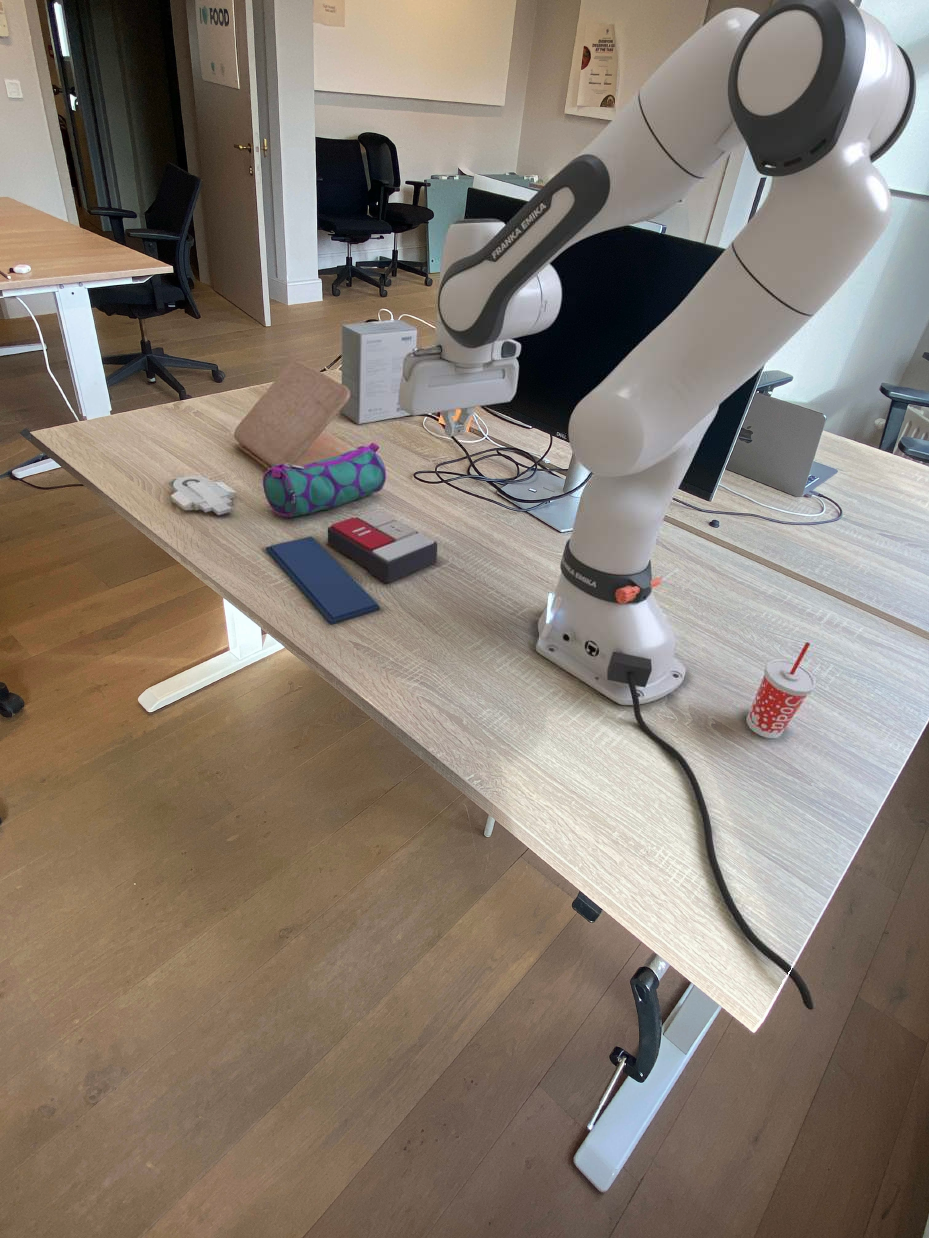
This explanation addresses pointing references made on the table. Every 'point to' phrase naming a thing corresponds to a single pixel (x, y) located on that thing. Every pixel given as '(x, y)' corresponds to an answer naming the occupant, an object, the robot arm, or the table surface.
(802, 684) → the beverage cup
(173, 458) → the table surface
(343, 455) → the pencil case
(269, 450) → the case
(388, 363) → the hard drive box
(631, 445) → the robot arm
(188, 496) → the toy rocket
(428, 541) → the red and grey box
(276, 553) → the flat dark blue box
